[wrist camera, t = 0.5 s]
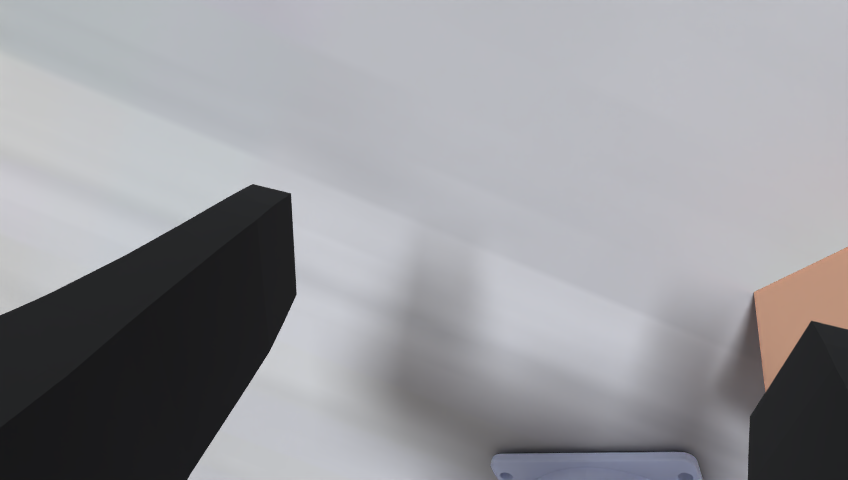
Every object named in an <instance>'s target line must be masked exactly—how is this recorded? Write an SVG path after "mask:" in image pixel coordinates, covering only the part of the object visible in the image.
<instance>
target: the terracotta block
mask: <svg viewBox="0 0 848 480" xmlns="http://www.w3.org/2000/svg"><path fill="white" fill-rule="evenodd" d="M754 298H755V306H756V315H757V324H758V333H759V341H760V350H761V359H762V367H763V376H764V385H765V392H766V391H767V389H768V388H769V386H770V385H771V383H772V382H773V380H774V378H775V377H776V375H777V374H778V372H779V371H780V369H781V367H782V366H783V364H784V363H785V361H786V360H787V358H788V356H789V355H790V353H791V352H792V350H793V349H794V347H795V345H796V344H797V342H798V341H799V339H800V338H801V336H802V334H803V333H804V331H805V330H806V328H807V327H808V325H809V323H810V322H811V321H815V322H819V323H823V324H828V325H832V326H836V327H840V328H844V329H848V247H846V248H844V249H842V250H840V251H838V252H836V253H834V254H832V255H830V256H828V257H826V258H824V259H822V260H820V261H817V262H815V263H813V264H811V265H809V266H807V267H805V268H803V269H801V270H799V271H797V272H795V273H793V274H791V275H788V276H786V277H784V278H782V279H780V280H778V281H776V282H774V283H772V284H770V285H768V286H766V287H764V288H762V289H759V290H757V291H755V292H754Z"/></svg>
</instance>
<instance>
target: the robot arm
mask: <svg viewBox="0 0 848 480" xmlns="http://www.w3.org/2000/svg"><path fill="white" fill-rule="evenodd" d="M295 297H296V276H295V258H294V240H293V222H292V204H291V193H287V192H283V191H279V190H274V189H270V188H266V187H262V186H258V185H254V184H252V185H250V186H248V187H246V188H244V189H242V190H241V191H239V192H237V193H235V194H233V195H231V196H230V197H228V198H226V199H224V200H223V201H221V202H219V203H217V204H216V205H214V206H212V207H210V208H209V209H207V210H205V211H203V212H202V213H200V214H198V215H196V216H195V217H193V218H191V219H189V220H188V221H186V222H184V223H183V224H181V225H179V226H177V227H175V228H174V229H172V230H170V231H168V232H167V233H165V234H163V235H161V236H159V237H158V238H156V239H154V240H152V241H150V242H149V243H147V244H145V245H143V246H141V247H140V248H138V249H136V250H134V251H132V252H131V253H129V254H127V255H125V256H123V257H121V258H119V259H117V260H115V261H113V262H111V263H109V264H107V265H105V266H103V267H101V268H99V269H97V270H95V271H94V272H92V273H90V274H88V275H86V276H84V277H82V278H80V279H78V280H76V281H74V282H72V283H70V284H68V285H66V286H64V287H62V288H60V289H58V290H56V291H54V292H52V293H50V294H47V295H45V296H43V297H41V298H39V299H37V300H35V301H32V302H30V303H28V304H26V305H23V306H21V307H19V308H16V309H14V310H12V311H10V312H7V313H5V314H2V315H0V480H187V479H188V477H189V476H190V474H191V472H192V471H193V469H194V468H195V466H196V465H197V463H198V461H199V460H200V458H201V457H202V455H203V454H204V452H205V451H206V449H207V448H208V446H209V445H210V443H211V442H212V440H213V438H214V437H215V435H216V434H217V432H218V431H219V429H220V428H221V426H222V425H223V423H224V422H225V420H226V418H227V417H228V415H229V414H230V412H231V411H232V409H233V408H234V406H235V405H236V403H237V402H238V400H239V399H240V397H241V395H242V394H243V392H244V391H245V389H246V388H247V386H248V385H249V383H250V381H251V380H252V378H253V377H254V375H255V374H256V372H257V370H258V369H259V367H260V366H261V364H262V363H263V361H264V359H265V358H266V356H267V355H268V353H269V351H270V349H271V347H272V345H273V343H274V341H275V339H276V337H277V335H278V333H279V331H280V329H281V327H282V325H283V323H284V321H285V318H286V316H287V314H288V312H289V310H290V308H291V305H292V303H293V301H294V299H295ZM491 468H492V470H493V472H494V474H495V476H496V477H497V479H498V480H703V478H702V475H701V472H700V468H699V465H698V462H697V460H696V458H695V457H694V456H692V455H691V454H689V453H686V452H612V453H519V454H496V455H494V456H493V458H492V461H491ZM748 480H848V329H844V328H840V327H836V326H832V325H828V324H823V323H819V322H815V321H811V322H810V323H809V325H808V327H807V328H806V330H805V331H804V333H803V334H802V336H801V338H800V339H799V341H798V342H797V344H796V345H795V347H794V349H793V350H792V352H791V353H790V355H789V356H788V358H787V360H786V361H785V363H784V364H783V366H782V367H781V369H780V371H779V372H778V374H777V375H776V377H775V378H774V380H773V382H772V383H771V385H770V386H769V388H768V389H767V391H766V392H765V394H764V396H763V397H762V399H761V400H760V402H759V403H758V405H757V407H756V408H755V410H754V411H753V413H752V414H751V416H750V431H749V455H748Z"/></svg>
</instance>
